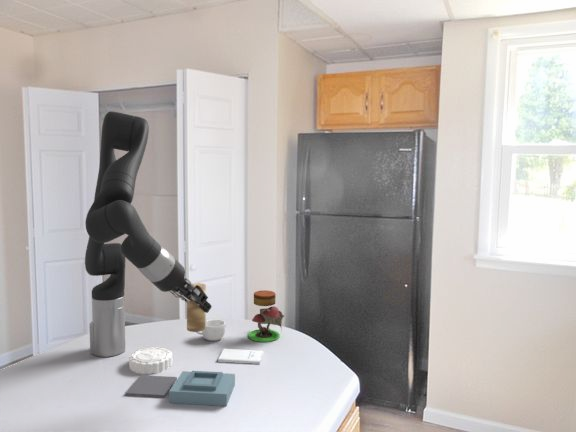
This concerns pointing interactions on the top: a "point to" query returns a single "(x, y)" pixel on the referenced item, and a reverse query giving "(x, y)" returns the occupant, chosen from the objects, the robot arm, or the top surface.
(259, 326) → the mushroom figurine
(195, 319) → the oak stopper
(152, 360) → the mooncake
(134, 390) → the grey rubber coaster
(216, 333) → the teacup
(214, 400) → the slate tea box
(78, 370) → the top surface
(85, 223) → the robot arm
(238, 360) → the external hard drive
